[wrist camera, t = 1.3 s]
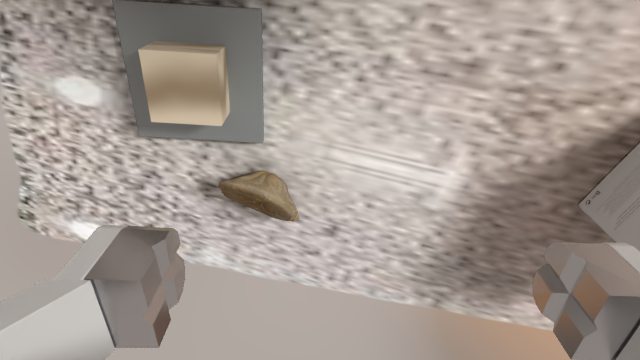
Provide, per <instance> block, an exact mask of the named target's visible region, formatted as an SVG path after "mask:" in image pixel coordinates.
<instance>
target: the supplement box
mask: <svg viewBox="0 0 640 360" xmlns="http://www.w3.org/2000/svg"><path fill="white" fill-rule="evenodd" d="M578 206H579V207H580V209H581V210H582V211H583V212H585V213H586V214H587V215H588V216H589V217H590V218H591V219H592V220H593V221H594V222H595V223H596V224H597V225H598V226H599V227H600V228H601V229H602V230H603V231H604V232H606V233H607V234H608V235H609V236H610V237H611V238H612V239H613V240H614V241H615V242H616V243H627V244H629V245H631V246H634V247H635V248H636V249H637V250H638V251H639V252H640V143H639V144H638V145H637V146H636V147H635V148H634V149H633V150H632V151H631V152H630V153H629V154H628V155H627V156H626V157H625V158H624V159H623V160H622V161H621V162H620V163H619V164H618V165H617V166H616V167H615V168H614V169H613V170H612V171H611V172H610V173H609V174H608V175H607V176H606V177H605V178H604V179H603V180H602V181H601V182H600V183H599V184H598V185H597V186H596V187H595V188H594V189H593V190H592V191H591V192H590V193H589V194H588V195H587V196H586V197H585V199H584V200H583V201H582V202H580V203H579V205H578Z"/></svg>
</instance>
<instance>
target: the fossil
mask: <svg viewBox="0 0 640 360" xmlns="http://www.w3.org/2000/svg"><path fill="white" fill-rule="evenodd" d="M219 188H220V189H221V190H222V193H223V194H224V195H225V196H226V197H228V198H229V199H231V200H232V201H235V202H237V203H240V204H242V205H244V206H247V207H250V208H252V209H255V210H257V211H260V212H262V213H264V214H266V215H268V216H271V217H274V218H276V219H280V220H285V221H292V222H293V221H296V220H297V219H299V215H298V213H297V212H298V211H297V209H296V207H295V205H294V203H293V202H292V200H291V198H290V196H289V193H288V189H287V185H286V184H285V182H284V181H283V180H282V179H281V178H278V176H276V175H275V174H272V173H268V172H265V171H256V172H254V173H251V174H249V175H245V176H241V177H237V178H235V179H230V180H224V181H222V182H220V183H219Z"/></svg>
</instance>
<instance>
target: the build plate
mask: <svg viewBox="0 0 640 360" xmlns="http://www.w3.org/2000/svg"><path fill="white" fill-rule="evenodd" d="M112 2H113V7H114V12H115V17H116V22H117V27H118V32H119V37H120V42H121V47H122V52H123V57H124V62H125V67H126V72H127V77H128V82H129V87H130V92H131V97H132V101H133V106H134V111H135V116H136V121H137V126H138V131H139V136H151V137H168V138H185V139H201V140H218V141H235V142H252V143H263V140H264V122H263V63H262V9H257V8H242V7H228V6H213V5H198V4H183V3H168V2H153V1H139V0H112ZM155 41H161V42H176V43H192V44H207V45H223V46H226V57H227V72H228V88H229V103H230V113H229V115H228V116H227V118H226V120H225V121H224V123H223V125H222V126H210V125H194V124H177V123H160V122H151V118H150V112H149V107H148V101H147V96H146V90H145V85H144V79H143V74H142V68H141V62H140V57H139V51H138V49H140V48H142V47H144V46H146V45H148V44H150V43H153V42H155Z"/></svg>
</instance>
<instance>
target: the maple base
mask: <svg viewBox="0 0 640 360" xmlns="http://www.w3.org/2000/svg"><path fill="white" fill-rule="evenodd" d="M138 51H139V57H140V62H141V68H142V74H143V79H144V85H145V90H146V96H147V101H148V107H149V112H150V118H151V122H160V123H177V124H194V125H210V126H222V125H223V123H224V121H225V120H226V118H227V116H228V115H229V113H230V103H229V88H228V72H227V57H226V46H223V45H207V44H192V43H176V42H161V41H155V42H153V43H150V44H148V45H146V46H144V47H142V48H140V49H138Z"/></svg>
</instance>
